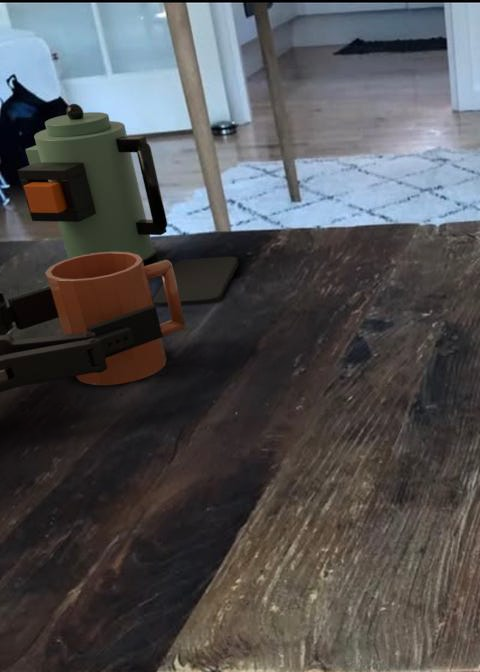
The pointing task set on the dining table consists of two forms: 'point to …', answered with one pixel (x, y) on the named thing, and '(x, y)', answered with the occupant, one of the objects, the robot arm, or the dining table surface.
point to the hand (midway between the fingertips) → (115, 307)
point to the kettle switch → (45, 197)
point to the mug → (114, 306)
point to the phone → (200, 280)
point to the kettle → (97, 184)
